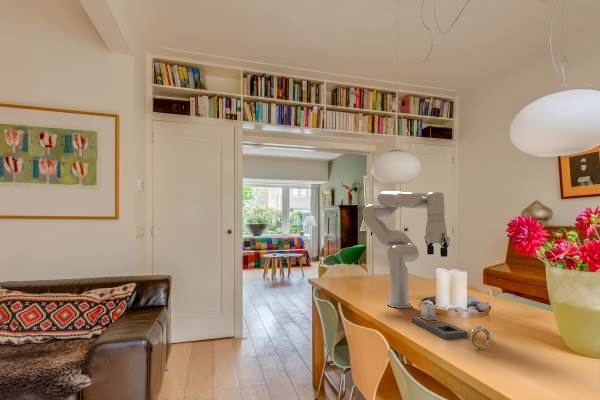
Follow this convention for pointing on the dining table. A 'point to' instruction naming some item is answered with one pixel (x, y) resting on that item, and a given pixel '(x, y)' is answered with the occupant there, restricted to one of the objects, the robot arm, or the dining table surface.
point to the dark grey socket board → (440, 328)
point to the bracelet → (476, 333)
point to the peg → (428, 313)
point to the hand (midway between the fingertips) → (437, 255)
